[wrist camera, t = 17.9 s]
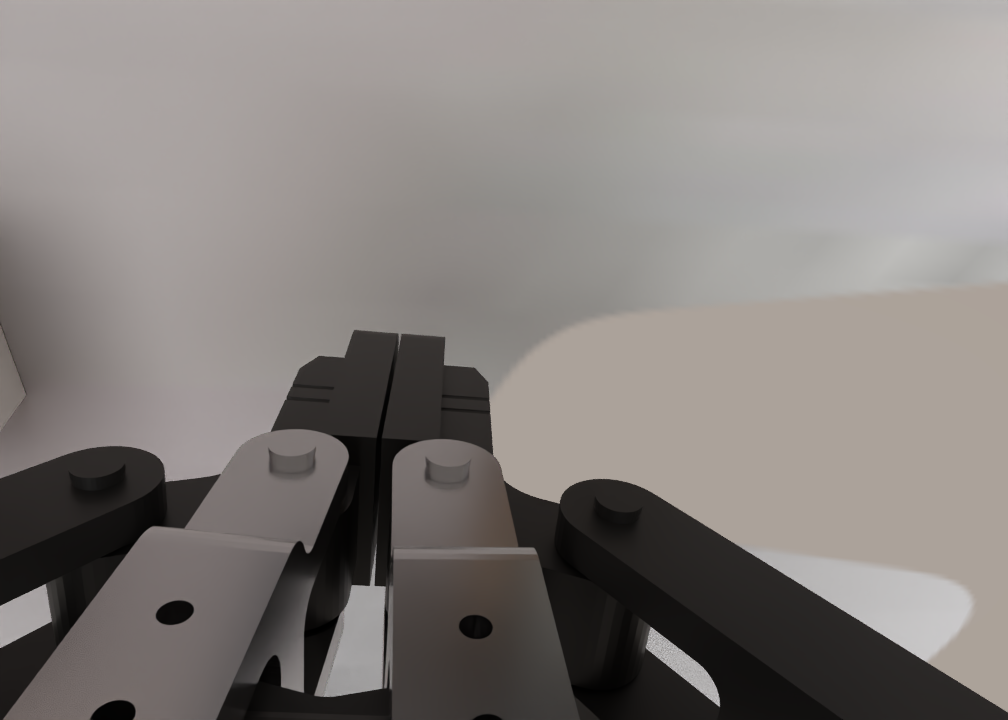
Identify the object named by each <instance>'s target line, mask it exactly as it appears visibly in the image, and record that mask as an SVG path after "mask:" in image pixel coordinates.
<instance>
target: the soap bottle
mask: <svg viewBox="0 0 1008 720" xmlns="http://www.w3.org/2000/svg"><path fill="white" fill-rule="evenodd" d="M25 396H26V393H25V390H24V388H23V385H22V382H21V380H20V377H19V374H18V371H17V369H16V366H15V363H14V361H13V358H12V355H11V352H10V350H9V347H8V344H7V342H6V339H5V336H4V333H3V331H2V328H1V325H0V431H1V430H2V428H3V427H4V426H5V424H6V423H7V421H8V420H9V419H10V417H11V416H12V414H13V413H14V412H15V410H16V409H17V407H18V406H19V405H20V403H21V402H22V400H23V399H24V398H25Z"/></svg>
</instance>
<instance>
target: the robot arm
mask: <svg viewBox="0 0 1008 720" xmlns="http://www.w3.org/2000/svg"><path fill="white" fill-rule="evenodd" d="M398 345H399V335H398V334H397V333H385V332H372V331H359V330H354V332H353V335H352V337H351V340H350V343H349V346H348V349H347V352H346V355H345V358H338V357H325V356H318V357H317V358H315V359H314V360H312V361H311V362H309V363H308V364H306V365H304V366H303V367H301V368H300V369H299V372H298V374H297V376H296V378H295V380H294V382H293V387H291V389H290V391H289V393H288V395H287V400H285V402H284V404H283V406H282V408H281V411H280V413H279V415H278V417H277V419H276V421H275V424H274V426H273V428H272V430H271V432H268V433H265V434H261V435H259V436H256V437H254V438H252V439H250V440H248V441H247V442H245V443H244V444H243V445H242V446H241V447H240V448H239V449H238V450H237V451H236V453H235V454H234V456H233V457H232V459H231V460H230V462H229V463H228V465H227V466H226V468H225V469H224V471H223V472H222V474H219V475H215V476H210V477H203V478H196V479H187V480H179V481H170V482H165V471H164V466H163V463H162V462H161V461H160V459H159V458H157V457H156V456H155V455H153V454H151V453H149V452H147V451H144V450H141V449H137V448H132V447H122V446H108V447H97V448H90V449H85V450H81V451H77V452H73V453H70V454H67V455H64V456H61V457H59V458H56V459H53V460H50V461H48V462H45V463H42V464H39V465H37V466H34V467H31V468H28V469H26V470H23V471H20V472H17V473H15V474H12V475H9V476H6V477H3V478H1V479H0V605H3V604H5V603H7V602H9V601H11V600H13V599H15V598H17V597H19V596H21V595H23V594H25V593H28V592H30V591H32V590H34V589H36V588H38V587H40V586H42V585H44V584H46V588H47V594H48V600H49V606H50V612H51V618H52V622H50V623H48V624H46V625H44V626H42V627H41V628H39V629H37V630H35V631H33V632H31V633H29V634H27V635H25V636H23V637H21V638H19V639H17V640H15V641H14V642H12V643H10V644H8V645H6V646H4V647H2V648H0V720H1008V712H1006V711H1004V710H1003V709H1001V708H1000V707H998V706H996V705H995V704H993V703H992V702H990V701H988V700H987V699H985V698H983V697H981V696H980V695H979V694H977V693H975V692H974V691H972V690H970V689H969V688H967V687H966V686H964V685H962V684H961V683H959V682H958V681H956V680H954V679H953V678H951V677H949V676H948V675H946V674H945V673H943V672H941V671H939V670H938V669H936V668H935V667H933V666H931V665H930V664H928V663H927V662H925V661H924V660H922V659H920V658H919V657H917V656H915V655H914V654H912V653H911V652H909V651H907V650H906V649H904V648H902V647H901V646H899V645H898V644H896V643H894V642H893V641H891V640H890V639H888V638H886V637H885V636H883V635H881V634H880V633H878V632H877V631H875V630H873V629H872V628H870V627H868V626H867V625H865V624H864V623H862V622H860V621H859V620H857V619H856V618H854V617H852V616H851V615H849V614H847V613H846V612H844V611H843V610H841V609H839V608H838V607H836V606H835V605H833V604H831V603H830V602H828V601H826V600H825V599H823V598H822V597H820V596H818V595H817V594H815V593H813V592H812V591H810V590H809V589H807V588H805V587H804V586H802V585H801V584H799V583H797V582H796V581H794V580H792V579H791V578H789V577H788V576H786V575H784V574H783V573H781V572H779V571H778V570H776V569H775V568H773V567H771V566H770V565H768V564H767V563H765V562H763V561H762V560H760V559H758V558H757V557H755V556H754V555H752V554H750V553H749V552H747V551H745V550H744V549H742V548H741V547H739V546H737V545H736V544H734V543H733V542H731V541H729V540H728V539H726V538H724V537H723V536H721V535H720V534H718V533H716V532H715V531H713V530H711V529H710V528H708V527H706V526H705V525H703V524H702V523H700V522H699V521H697V520H695V519H694V518H692V517H690V516H689V515H687V514H686V513H684V512H682V511H681V510H679V509H677V508H676V507H674V506H672V505H671V504H669V503H668V502H666V501H664V500H663V499H661V498H660V497H658V496H656V495H655V494H653V493H651V492H649V491H648V490H645V489H644V488H641V487H639V486H637V485H633V484H630V483H627V482H623V481H618V480H610V479H593V480H586V481H582V482H579V483H576V484H574V485H572V486H570V487H569V488H568V489H567V490H566V491H565V492H564V493H563V494H562V497H561V500H560V504H558V503H554V502H551V501H547V500H543V499H539V498H536V497H533V496H530V495H528V494H525V493H523V492H521V491H519V490H517V489H515V488H513V487H512V486H510V485H509V484H508V483H506V482H505V481H504V479H503V475H502V470H501V467H500V464H499V462H498V461H497V459H496V458H495V457H494V456H493V446H492V431H491V417H490V402H489V387H488V382H487V381H486V379H485V378H484V377H483V376H482V375H481V374H480V373H479V372H478V371H477V370H476V369H475V368H471V367H458V366H445V365H444V349H445V337H436V336H424V335H411V334H402V336H401V341H400V346H399V351H398ZM376 544H377V548H376ZM375 550H376V569H375V586H386V591H385V608H384V626H383V656H382V689H378V690H372V691H366V692H360V693H354V694H348V695H342V696H336V697H323V696H324V692H325V689H326V686H327V682H328V679H329V676H330V672H331V669H332V666H333V662H334V659H335V656H336V652H337V649H338V646H339V643H340V639H341V636H342V633H343V627H344V608H345V607H346V605H347V603H348V600H349V596H350V591H351V586H352V585H363V586H370V581H371V575H372V569H373V562H374V556H375ZM650 627H652V628H653V629H655V630H656V631H657V632H659V633H660V634H661V635H662V636H664V637H665V638H666V639H668V640H669V641H670V642H672V643H673V644H674V645H676V646H677V647H678V648H679V649H681V650H682V651H683V652H685V653H686V654H687V655H689V656H690V657H691V658H692V659H694V660H695V661H696V662H698V663H699V664H700V665H701V666H702V667H703V668H704V669H705V670H706V671H707V672H708V674H709V675H710V676H711V678H712V680H713V681H714V683H715V685H716V688H717V690H718V693H719V698H720V707H719V706H718V705H716V704H715V703H714V702H712V701H711V700H710V699H709V698H707V697H706V696H705V695H704V694H702V693H701V692H700V691H699V690H697V689H696V688H695V687H694V686H692V685H691V684H690V683H689V682H687V681H686V680H685V679H684V678H682V677H681V676H680V675H679V674H677V673H676V672H675V671H674V670H672V669H671V668H670V667H668V666H667V665H666V664H665V663H663V662H662V661H661V660H660V659H658V658H657V657H656V656H655V655H653V654H652V653H651V652H650V651H648V650H647V649H646V644H647V640H648V636H649V631H650Z"/></svg>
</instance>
